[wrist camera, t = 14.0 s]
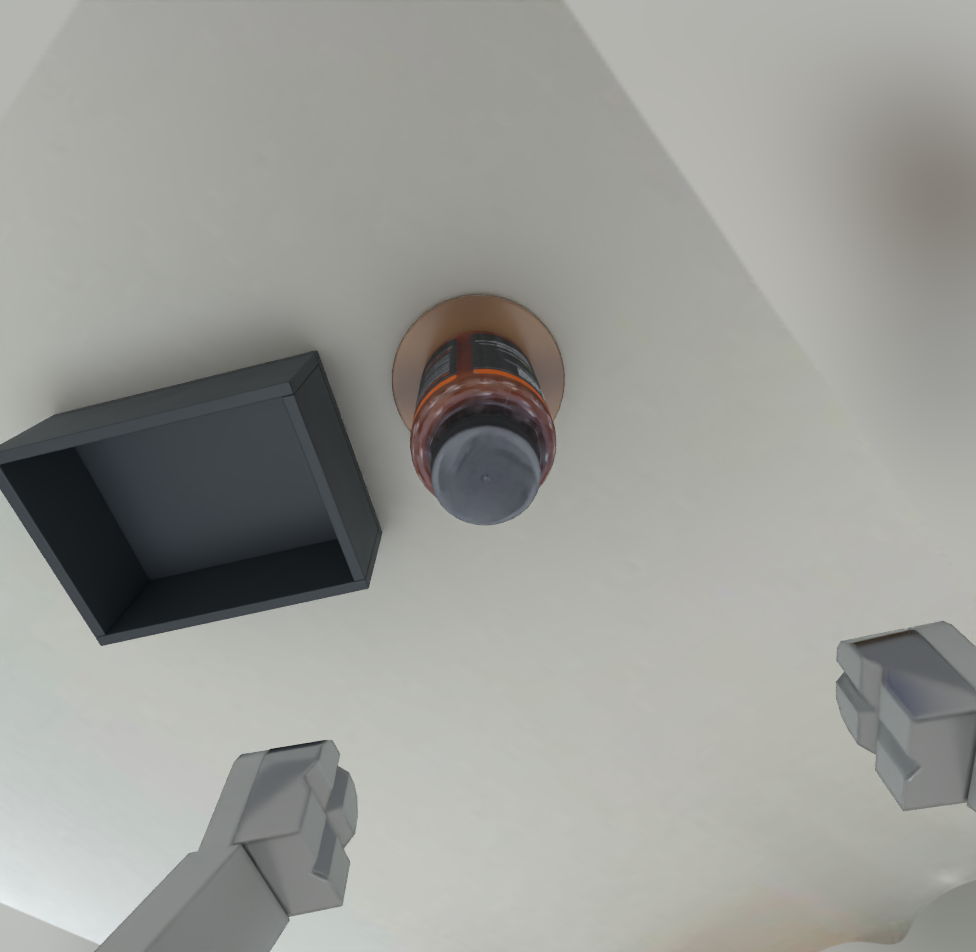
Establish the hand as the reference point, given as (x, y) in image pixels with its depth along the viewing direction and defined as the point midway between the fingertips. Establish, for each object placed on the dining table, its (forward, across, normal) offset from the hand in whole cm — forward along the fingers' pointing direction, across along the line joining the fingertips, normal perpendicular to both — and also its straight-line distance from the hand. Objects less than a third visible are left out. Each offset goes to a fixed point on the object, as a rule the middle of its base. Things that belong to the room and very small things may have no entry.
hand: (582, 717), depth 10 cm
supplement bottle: (+24, +2, +2) cm, 24 cm away
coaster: (+24, +2, +2) cm, 25 cm away
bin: (+24, +17, +4) cm, 30 cm away
